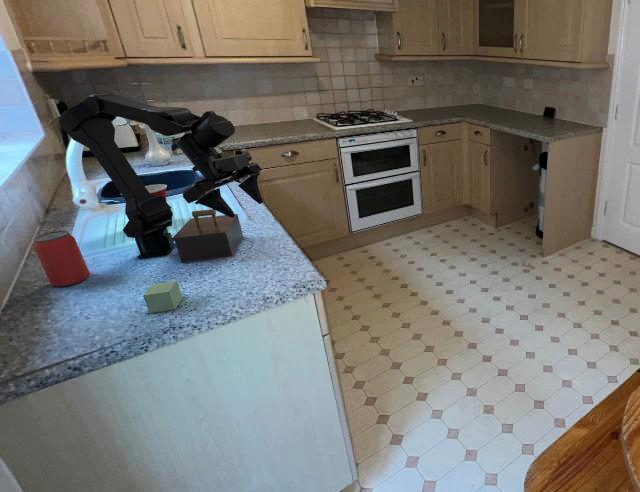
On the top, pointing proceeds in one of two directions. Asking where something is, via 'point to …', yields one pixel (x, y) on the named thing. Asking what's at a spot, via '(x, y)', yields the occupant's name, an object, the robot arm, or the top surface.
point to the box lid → (205, 225)
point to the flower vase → (152, 146)
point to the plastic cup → (157, 190)
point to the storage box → (210, 245)
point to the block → (163, 297)
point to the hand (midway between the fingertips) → (248, 209)
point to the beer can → (61, 258)
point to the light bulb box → (168, 142)
